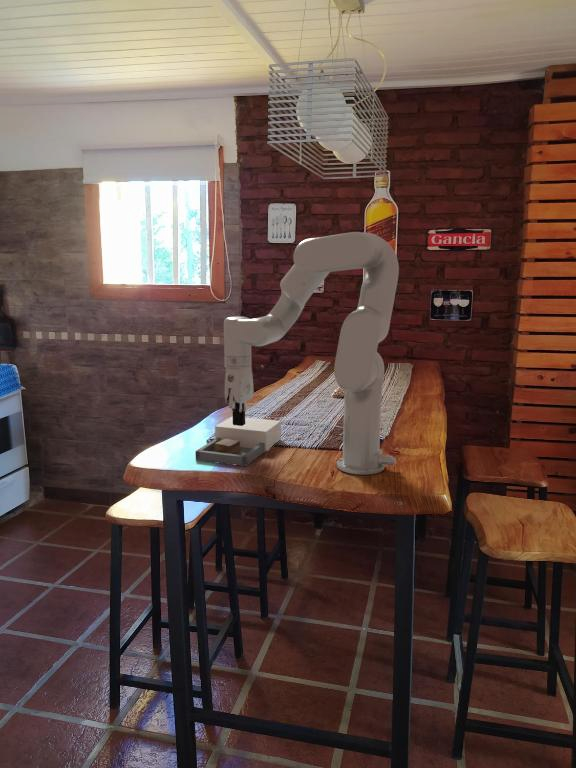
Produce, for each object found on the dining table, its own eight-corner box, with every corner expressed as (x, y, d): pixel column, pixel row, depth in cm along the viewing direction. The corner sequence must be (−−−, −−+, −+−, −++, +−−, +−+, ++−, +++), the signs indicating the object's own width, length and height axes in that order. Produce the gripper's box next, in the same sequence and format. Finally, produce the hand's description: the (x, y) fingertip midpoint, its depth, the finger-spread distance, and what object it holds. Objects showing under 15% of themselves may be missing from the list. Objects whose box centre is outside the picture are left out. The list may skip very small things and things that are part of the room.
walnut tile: (229, 446, 164) (229, 456, 165) (239, 441, 169) (239, 451, 169) (214, 443, 167) (214, 453, 167) (225, 438, 171) (225, 448, 172)
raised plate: (280, 439, 182) (280, 420, 181) (266, 452, 171) (266, 431, 169) (232, 434, 187) (232, 416, 186) (215, 445, 176) (215, 426, 175)
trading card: (351, 428, 193) (323, 443, 178) (351, 430, 193) (323, 445, 179) (322, 423, 199) (293, 437, 184) (322, 425, 199) (293, 439, 184)
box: (264, 451, 171) (264, 443, 170) (246, 466, 159) (246, 457, 158) (216, 446, 176) (216, 437, 175) (195, 460, 164) (195, 451, 163)
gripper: (239, 366, 159) (240, 433, 163) (260, 357, 173) (261, 419, 177) (213, 365, 162) (215, 430, 165) (237, 356, 175) (238, 417, 179)
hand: (239, 424), depth 171 cm, fingers closed
